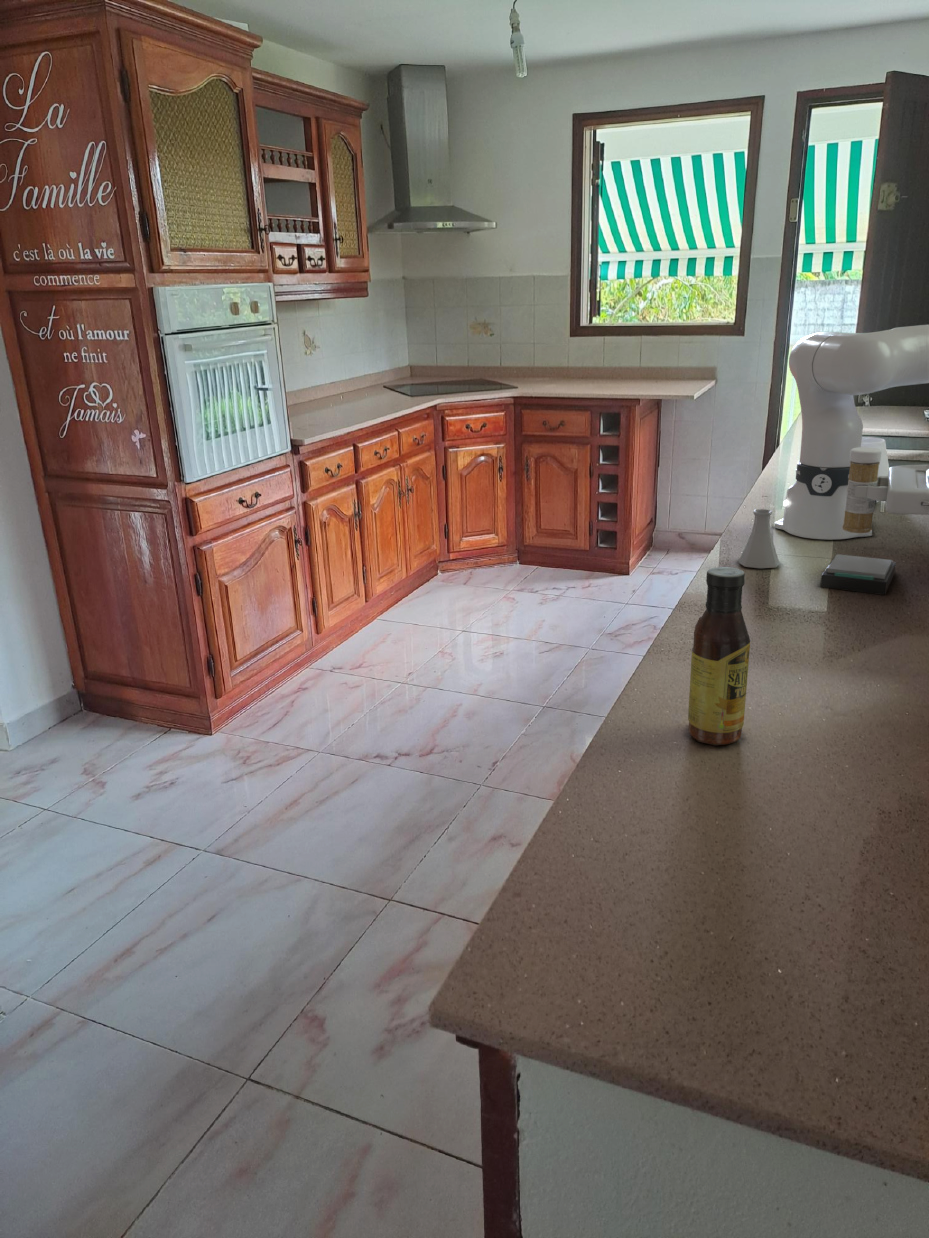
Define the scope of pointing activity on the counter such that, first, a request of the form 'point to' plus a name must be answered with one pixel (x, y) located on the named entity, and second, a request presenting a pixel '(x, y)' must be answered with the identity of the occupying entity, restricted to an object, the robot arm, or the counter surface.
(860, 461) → the sprinkles bottle
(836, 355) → the robot arm
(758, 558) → the flask
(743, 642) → the sauce bottle
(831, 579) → the scale
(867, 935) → the counter surface
